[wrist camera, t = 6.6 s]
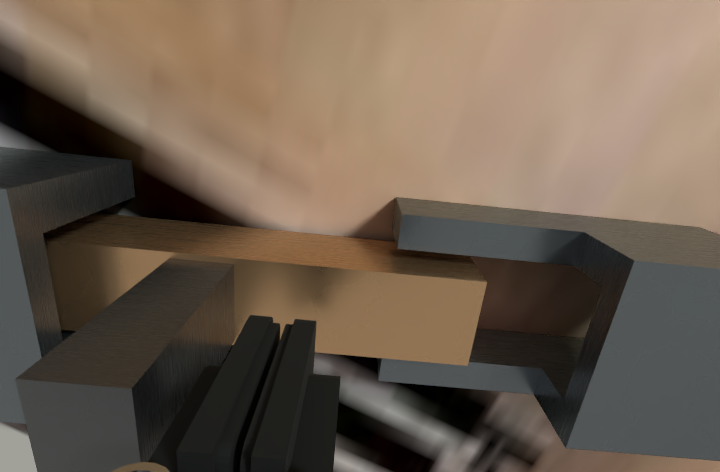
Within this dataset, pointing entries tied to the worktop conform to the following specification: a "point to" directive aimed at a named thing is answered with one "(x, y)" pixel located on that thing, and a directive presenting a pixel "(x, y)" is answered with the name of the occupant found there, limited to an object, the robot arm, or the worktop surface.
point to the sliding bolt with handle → (216, 320)
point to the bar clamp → (490, 347)
